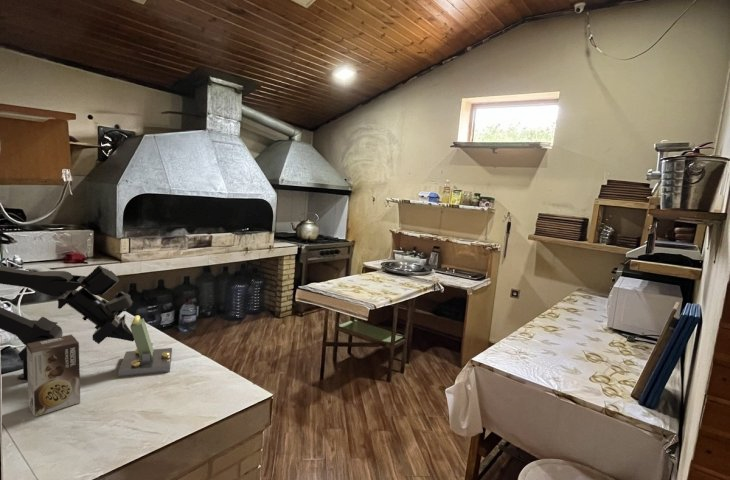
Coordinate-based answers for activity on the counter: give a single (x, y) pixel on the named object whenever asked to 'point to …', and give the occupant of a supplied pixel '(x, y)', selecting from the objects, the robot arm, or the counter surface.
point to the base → (146, 362)
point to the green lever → (141, 336)
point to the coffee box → (53, 374)
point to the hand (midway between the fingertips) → (134, 339)
